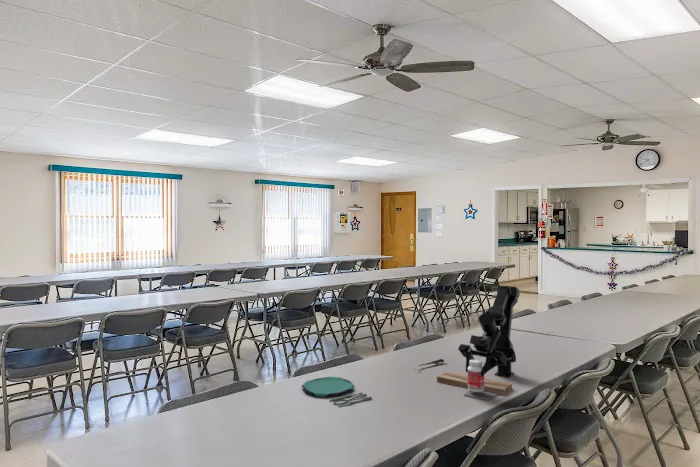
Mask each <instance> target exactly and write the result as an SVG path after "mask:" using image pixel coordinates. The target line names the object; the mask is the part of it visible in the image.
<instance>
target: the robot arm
mask: <svg viewBox="0 0 700 467" xmlns="http://www.w3.org/2000/svg"><path fill="white" fill-rule="evenodd" d="M520 294H521V292H520V289H519V288H518V287H517V286H514V285H513V286H512V285H511V286H510V285H498V286H497V292H496V296H495V298H494V301H493V303H492V306H490V307H489V308H488V309H487V310H485V312H484V313H482V314H481V315H479V317H478V322H479V325H480V327H481V329H482V331H483V333H482V336H479V335H473V334H472V335H470V340H469V344H465V343H462V344H459V346H458V348H457V350H458V351H459V353H460V354H461V355H462V356H463V357H465V372H466V373H468V367H469V366H470V364H469V361H470V360H472V359H475V358H474V356H477V357H481V358H485V362H484V364H483V365H482V367H483V368H482V370H481V374H480V375H481V376H483V375H484V376H485V375H486V374H487V373H488V372H489V371H490V370H492V369H494V368H496V367H497V371H496V372H495V373H494V375H495V376H499V377H504V378H511V377H513V375H515V371H514V372H513V371H512V363H517V354H516V352H515V349H514V345H513V343H512V341H511V330H512V320H513V314H514V313H513V312H514V306H515V305H516V304H517V303H518V300H519V298H520ZM471 344H472V345H473V348H474V349H473V348H472V347H471Z"/></svg>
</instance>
